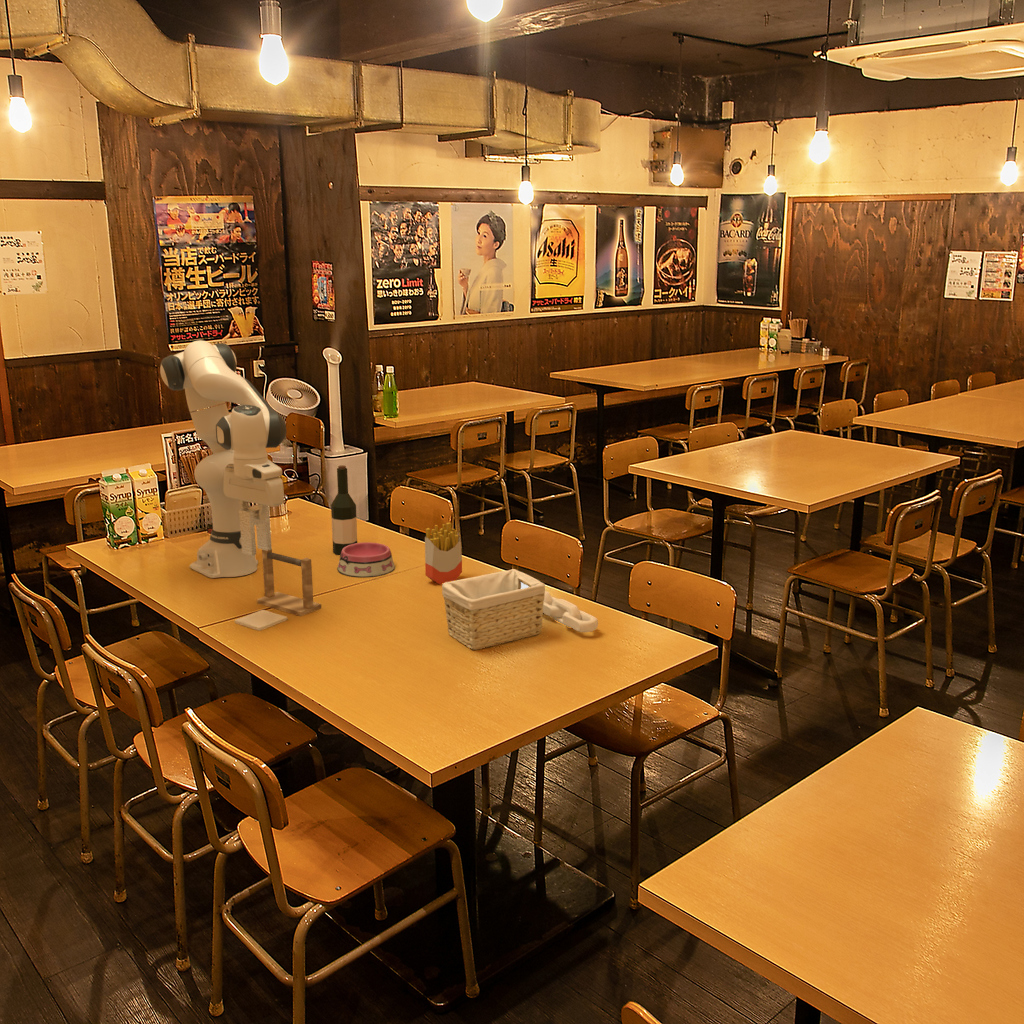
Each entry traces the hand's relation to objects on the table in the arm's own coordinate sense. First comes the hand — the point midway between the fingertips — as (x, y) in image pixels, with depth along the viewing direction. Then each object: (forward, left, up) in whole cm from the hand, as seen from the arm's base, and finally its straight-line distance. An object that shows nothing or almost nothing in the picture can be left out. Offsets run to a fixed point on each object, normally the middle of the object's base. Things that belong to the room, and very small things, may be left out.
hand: (254, 517), depth 259 cm
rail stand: (-3, +13, -30) cm, 33 cm away
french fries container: (+20, +56, -30) cm, 67 cm away
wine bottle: (-26, +60, -30) cm, 72 cm away
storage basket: (+58, +30, -30) cm, 71 cm away
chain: (+66, +49, -30) cm, 88 cm away
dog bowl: (-8, +51, -30) cm, 60 cm away
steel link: (0, 0, -9) cm, 9 cm away
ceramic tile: (0, 0, -30) cm, 30 cm away
